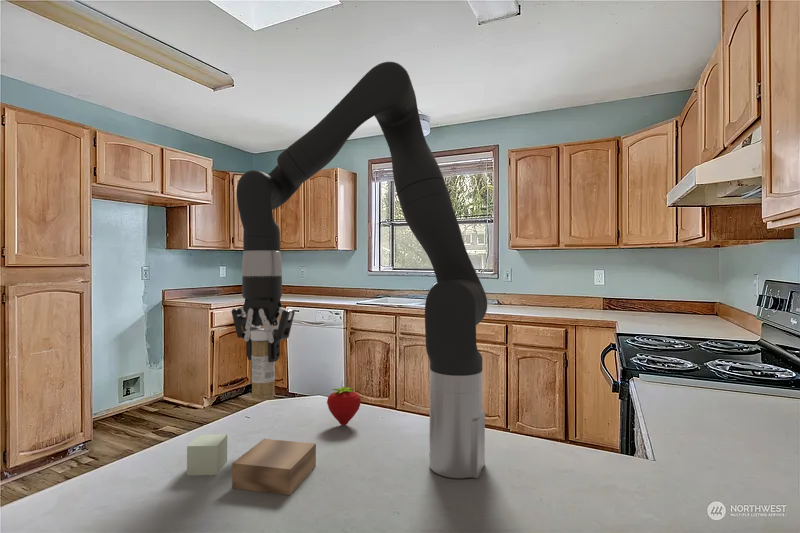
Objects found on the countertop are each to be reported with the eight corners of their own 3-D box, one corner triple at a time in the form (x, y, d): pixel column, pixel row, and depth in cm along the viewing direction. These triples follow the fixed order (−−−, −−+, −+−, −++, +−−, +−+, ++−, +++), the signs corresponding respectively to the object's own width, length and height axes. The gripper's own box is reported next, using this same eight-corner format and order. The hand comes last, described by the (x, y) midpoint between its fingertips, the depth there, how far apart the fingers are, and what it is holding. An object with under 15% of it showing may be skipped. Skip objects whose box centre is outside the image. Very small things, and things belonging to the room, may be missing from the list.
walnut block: (315, 466, 77) (315, 443, 77) (290, 495, 68) (290, 469, 68) (264, 460, 79) (264, 438, 79) (232, 488, 70) (232, 463, 70)
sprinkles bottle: (269, 392, 90) (269, 327, 90) (279, 397, 86) (278, 329, 86) (247, 397, 87) (247, 329, 87) (256, 402, 83) (255, 331, 83)
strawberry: (360, 430, 94) (360, 384, 94) (325, 430, 94) (325, 384, 94) (361, 420, 100) (361, 377, 100) (328, 420, 100) (328, 377, 100)
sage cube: (227, 462, 79) (227, 434, 79) (217, 475, 74) (217, 445, 74) (198, 462, 79) (199, 434, 79) (186, 475, 74) (187, 446, 74)
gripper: (303, 273, 88) (304, 359, 87) (246, 274, 93) (247, 354, 93) (280, 274, 81) (281, 367, 80) (220, 274, 86) (220, 361, 86)
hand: (263, 360), depth 87 cm, fingers closed on sprinkles bottle, 4 cm apart
